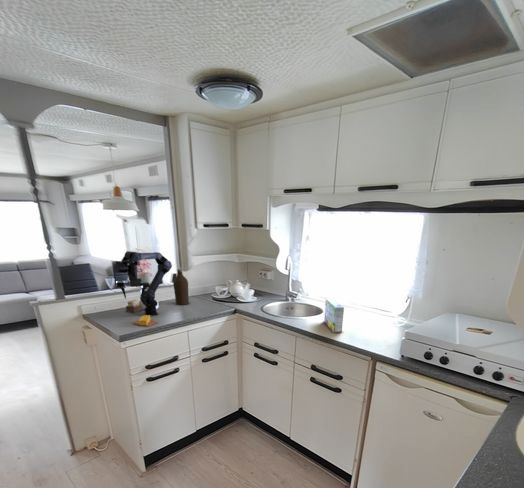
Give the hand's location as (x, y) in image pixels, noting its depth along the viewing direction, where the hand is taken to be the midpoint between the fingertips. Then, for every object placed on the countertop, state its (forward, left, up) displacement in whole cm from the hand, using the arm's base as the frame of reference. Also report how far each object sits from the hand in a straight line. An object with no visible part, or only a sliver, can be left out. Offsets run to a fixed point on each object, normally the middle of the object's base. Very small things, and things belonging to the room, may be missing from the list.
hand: (133, 298), depth 202 cm
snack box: (-103, +68, -13) cm, 124 cm away
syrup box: (-16, -17, -10) cm, 25 cm away
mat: (-3, +13, -13) cm, 19 cm away
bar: (-3, +14, -12) cm, 19 cm away
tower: (-1, -18, -13) cm, 22 cm away
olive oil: (-36, -25, -13) cm, 46 cm away
